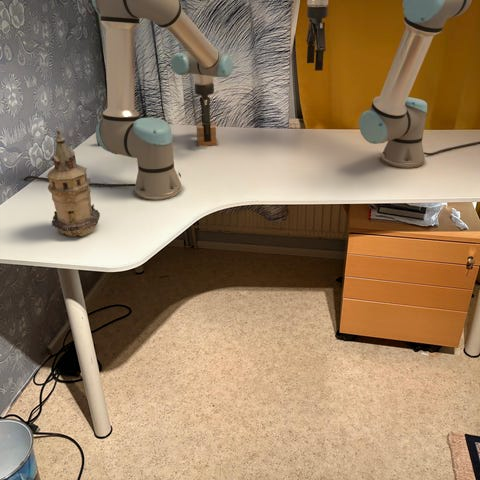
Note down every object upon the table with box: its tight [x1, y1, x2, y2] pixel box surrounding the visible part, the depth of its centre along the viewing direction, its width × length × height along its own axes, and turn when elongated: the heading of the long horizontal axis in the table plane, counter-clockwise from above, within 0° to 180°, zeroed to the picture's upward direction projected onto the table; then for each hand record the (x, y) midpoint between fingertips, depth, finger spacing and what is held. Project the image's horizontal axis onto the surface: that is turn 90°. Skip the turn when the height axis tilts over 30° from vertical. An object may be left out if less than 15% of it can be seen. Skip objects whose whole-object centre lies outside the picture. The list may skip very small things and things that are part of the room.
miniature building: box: [45, 129, 101, 237], centre depth 148 cm, size 13×14×30 cm
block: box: [195, 122, 217, 147], centre depth 218 cm, size 7×8×7 cm
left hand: (206, 136), depth 218 cm, fingers open, 13 cm apart
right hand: (314, 66), depth 203 cm, fingers open, 13 cm apart
